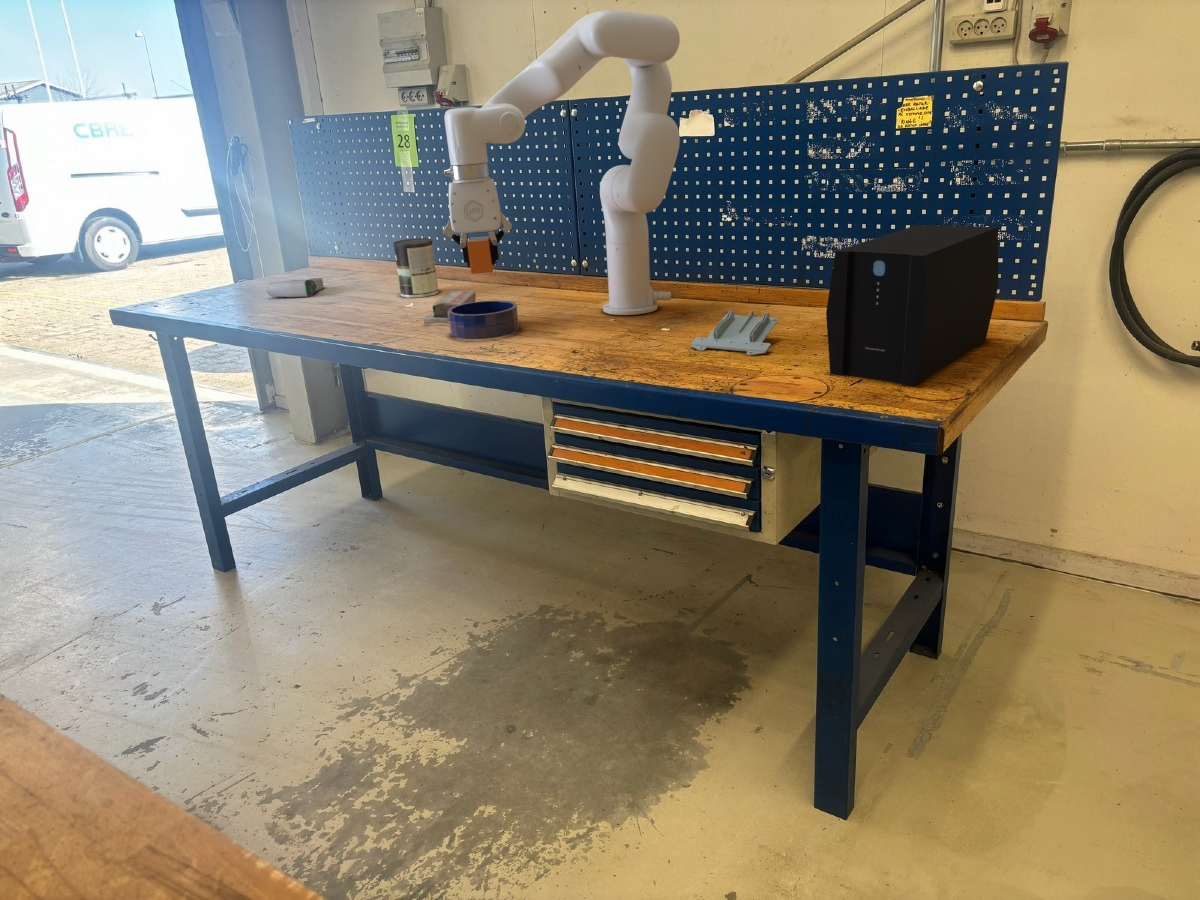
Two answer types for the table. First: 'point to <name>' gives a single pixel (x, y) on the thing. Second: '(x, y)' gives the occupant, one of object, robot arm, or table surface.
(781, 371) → the table surface
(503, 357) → the table surface
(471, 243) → the carton
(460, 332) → the bowl
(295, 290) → the infrared thermometer
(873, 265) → the uninterruptible power supply
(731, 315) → the metal bracket
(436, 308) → the packaged product
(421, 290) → the coffee can
